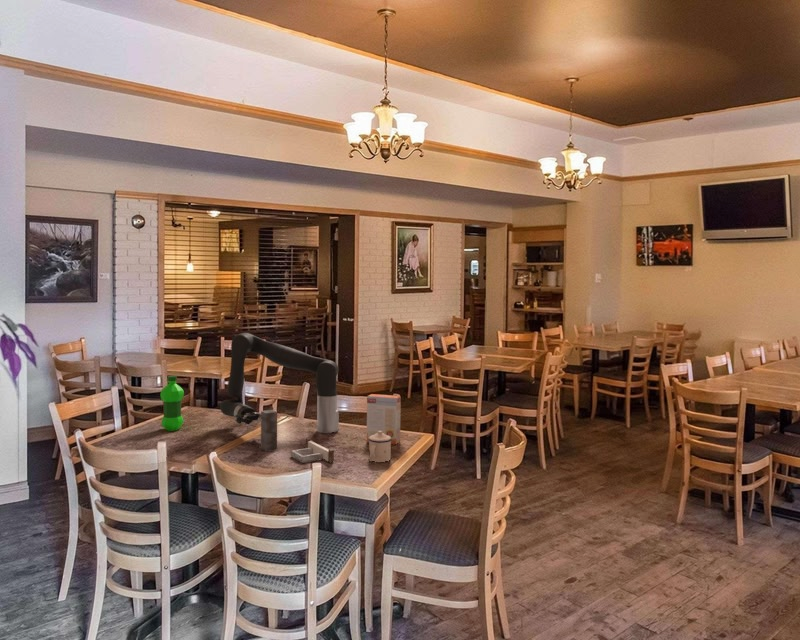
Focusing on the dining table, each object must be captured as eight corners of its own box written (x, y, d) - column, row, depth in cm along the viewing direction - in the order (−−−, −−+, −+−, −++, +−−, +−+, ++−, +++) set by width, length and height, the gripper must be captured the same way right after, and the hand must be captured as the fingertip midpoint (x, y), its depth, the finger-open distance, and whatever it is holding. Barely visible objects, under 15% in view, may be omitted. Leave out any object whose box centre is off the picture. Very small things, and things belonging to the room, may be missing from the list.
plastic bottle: (160, 432, 284) (159, 378, 282) (162, 427, 294) (161, 375, 292) (183, 431, 286) (182, 377, 285) (184, 426, 296) (184, 374, 295)
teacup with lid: (373, 455, 254) (374, 427, 253) (394, 458, 250) (394, 429, 250) (361, 463, 243) (361, 434, 242) (382, 466, 239) (383, 436, 238)
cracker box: (400, 442, 275) (401, 395, 273) (396, 445, 269) (396, 398, 268) (371, 439, 279) (371, 393, 278) (366, 442, 274) (366, 395, 272)
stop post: (272, 446, 264) (272, 409, 263) (277, 449, 260) (277, 411, 259) (261, 448, 261) (261, 411, 260) (265, 451, 257) (265, 413, 256)
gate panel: (307, 450, 258) (307, 441, 258) (313, 450, 259) (313, 440, 259) (328, 461, 243) (328, 451, 243) (333, 460, 245) (333, 450, 245)
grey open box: (309, 449, 260) (309, 438, 260) (333, 462, 243) (333, 450, 242) (285, 453, 254) (285, 441, 254) (308, 467, 237) (309, 454, 236)
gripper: (229, 407, 278) (242, 414, 264) (259, 404, 286) (274, 410, 272) (229, 423, 278) (242, 431, 265) (259, 420, 286) (273, 427, 273)
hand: (258, 421), depth 269 cm, fingers open, 8 cm apart
